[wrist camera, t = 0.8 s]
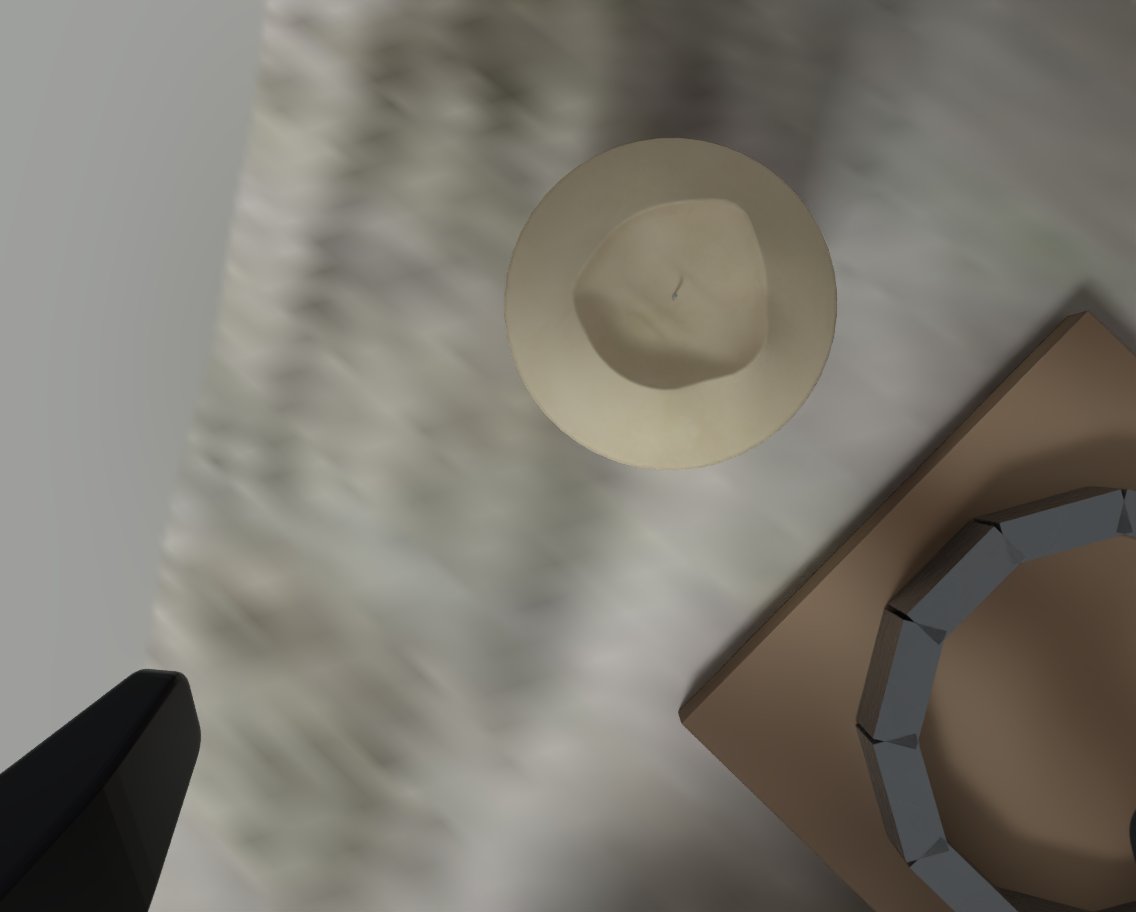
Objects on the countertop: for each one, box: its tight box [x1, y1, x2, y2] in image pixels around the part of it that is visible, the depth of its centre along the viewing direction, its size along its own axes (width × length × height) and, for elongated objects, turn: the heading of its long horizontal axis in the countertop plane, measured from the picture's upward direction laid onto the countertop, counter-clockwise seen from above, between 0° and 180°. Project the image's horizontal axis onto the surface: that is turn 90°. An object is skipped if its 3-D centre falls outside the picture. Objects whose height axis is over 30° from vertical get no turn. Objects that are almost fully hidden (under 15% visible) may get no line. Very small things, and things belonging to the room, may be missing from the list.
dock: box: [678, 311, 1136, 912], centre depth 23 cm, size 14×14×2 cm
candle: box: [505, 138, 837, 470], centre depth 19 cm, size 6×6×10 cm
